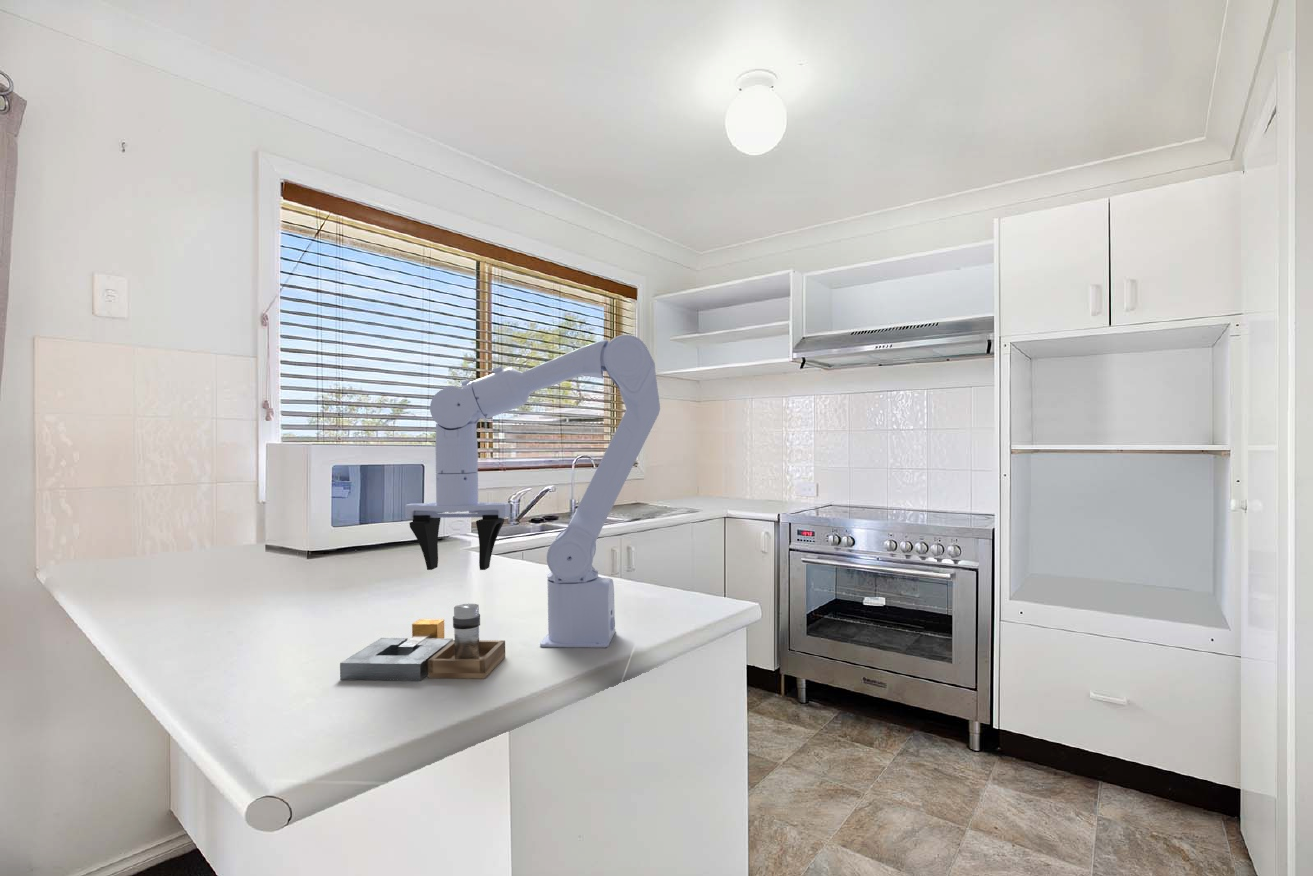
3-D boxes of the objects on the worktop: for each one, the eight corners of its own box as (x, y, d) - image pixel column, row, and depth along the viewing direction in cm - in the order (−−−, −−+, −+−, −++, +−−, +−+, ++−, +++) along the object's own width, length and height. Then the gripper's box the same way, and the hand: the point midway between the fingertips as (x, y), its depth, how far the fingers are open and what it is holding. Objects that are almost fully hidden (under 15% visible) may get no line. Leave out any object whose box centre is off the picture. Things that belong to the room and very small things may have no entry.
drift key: (420, 641, 94) (419, 619, 94) (444, 642, 94) (444, 619, 94) (392, 661, 86) (392, 636, 86) (419, 661, 86) (418, 636, 86)
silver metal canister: (481, 656, 85) (480, 602, 85) (480, 665, 82) (479, 608, 82) (454, 659, 84) (453, 604, 84) (452, 667, 81) (451, 610, 81)
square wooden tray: (505, 656, 87) (505, 640, 87) (484, 678, 79) (484, 661, 79) (453, 656, 88) (453, 640, 88) (428, 677, 80) (427, 660, 80)
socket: (381, 652, 89) (381, 637, 89) (453, 653, 89) (452, 638, 89) (340, 679, 79) (339, 663, 79) (420, 680, 79) (420, 663, 79)
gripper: (515, 471, 97) (516, 563, 97) (420, 472, 98) (421, 563, 98) (500, 473, 90) (501, 573, 90) (397, 474, 91) (399, 572, 91)
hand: (458, 568), depth 94 cm, fingers open, 7 cm apart
